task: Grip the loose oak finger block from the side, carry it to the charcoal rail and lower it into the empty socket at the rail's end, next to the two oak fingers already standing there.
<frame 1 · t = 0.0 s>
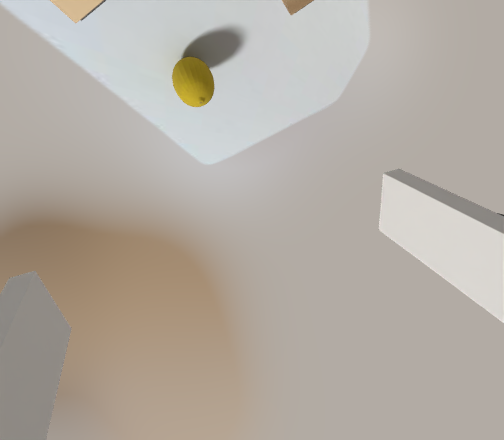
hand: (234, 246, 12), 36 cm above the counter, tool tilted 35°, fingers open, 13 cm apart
lemon: (185, 61, 46), on the counter
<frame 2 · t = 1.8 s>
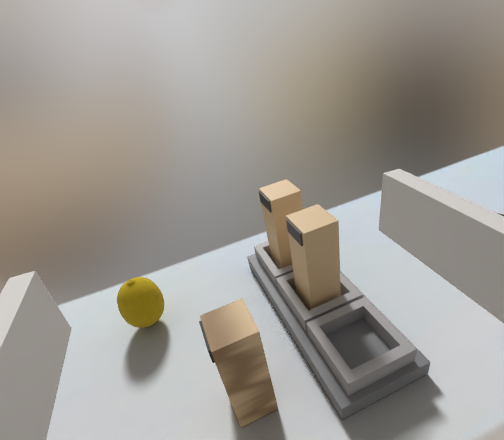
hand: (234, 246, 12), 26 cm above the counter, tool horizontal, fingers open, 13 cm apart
oak finger: (252, 399, 33), on the counter
lemon: (152, 323, 44), on the counter
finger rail: (318, 308, 41), on the counter
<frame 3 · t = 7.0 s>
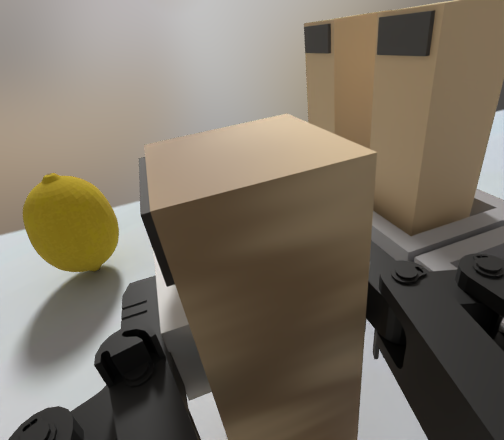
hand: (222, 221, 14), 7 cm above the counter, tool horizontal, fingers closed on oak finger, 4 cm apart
oak finger: (284, 431, 13), on the counter, touching gripper
lemon: (97, 271, 25), on the counter
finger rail: (408, 253, 21), on the counter
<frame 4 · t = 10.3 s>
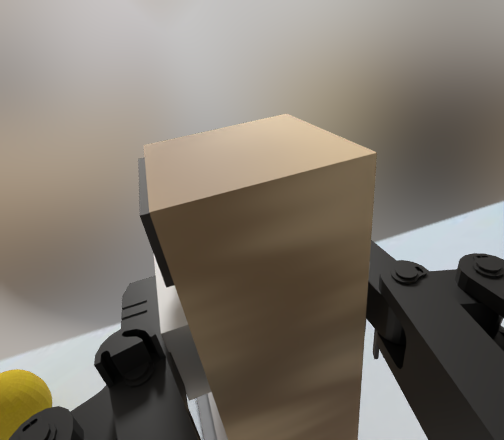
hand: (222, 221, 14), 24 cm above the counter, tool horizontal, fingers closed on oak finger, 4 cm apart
oak finger: (284, 431, 13), point 17 cm above the counter, touching gripper
lemon: (36, 430, 31), on the counter
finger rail: (265, 436, 28), on the counter
when the fingers open (10 cm above the counter, at t = 13.9 s): oak finger stays where it is, resting on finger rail.
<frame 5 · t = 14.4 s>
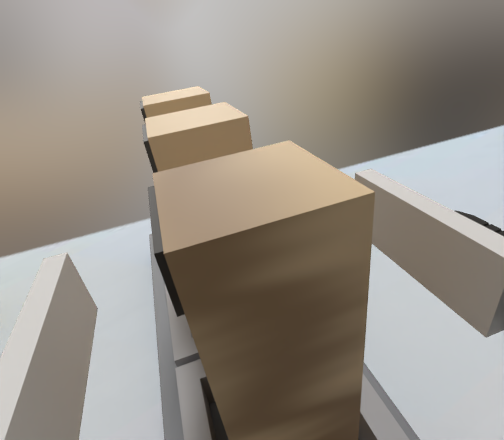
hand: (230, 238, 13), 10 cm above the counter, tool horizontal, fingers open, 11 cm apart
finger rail: (240, 330, 21), on the counter
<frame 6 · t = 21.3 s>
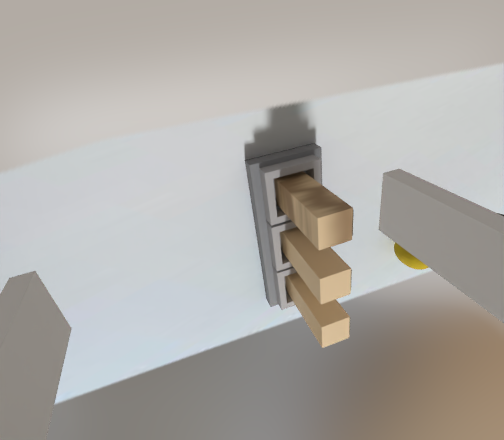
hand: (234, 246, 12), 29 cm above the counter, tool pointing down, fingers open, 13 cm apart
oak finger: (288, 187, 43), point 2 cm above the counter, touching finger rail
lemon: (397, 238, 58), on the counter
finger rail: (287, 229, 49), on the counter
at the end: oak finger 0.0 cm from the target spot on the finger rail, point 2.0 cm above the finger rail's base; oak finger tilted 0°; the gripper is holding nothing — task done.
